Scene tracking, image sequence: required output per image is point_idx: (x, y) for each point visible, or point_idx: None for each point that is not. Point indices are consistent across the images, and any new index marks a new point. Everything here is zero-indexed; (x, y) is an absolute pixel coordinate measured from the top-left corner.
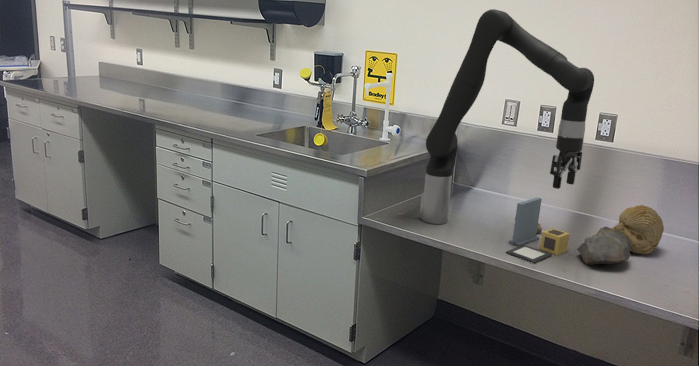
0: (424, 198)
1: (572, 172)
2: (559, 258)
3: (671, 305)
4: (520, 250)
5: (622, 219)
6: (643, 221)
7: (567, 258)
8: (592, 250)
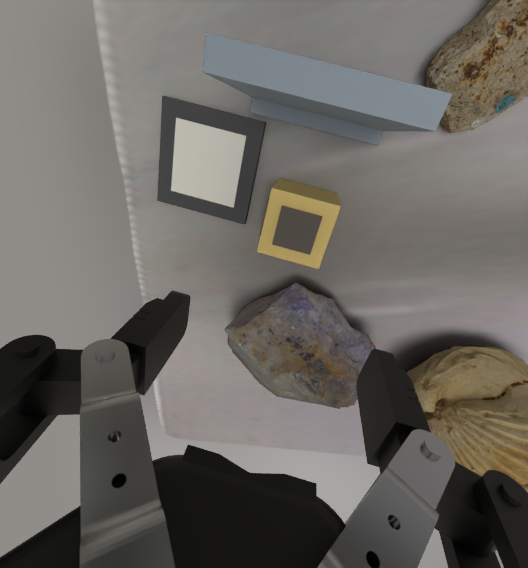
0: None
1: (382, 455)
2: (246, 243)
3: (180, 420)
4: (203, 135)
5: (456, 418)
6: None
7: (261, 260)
8: (230, 336)
